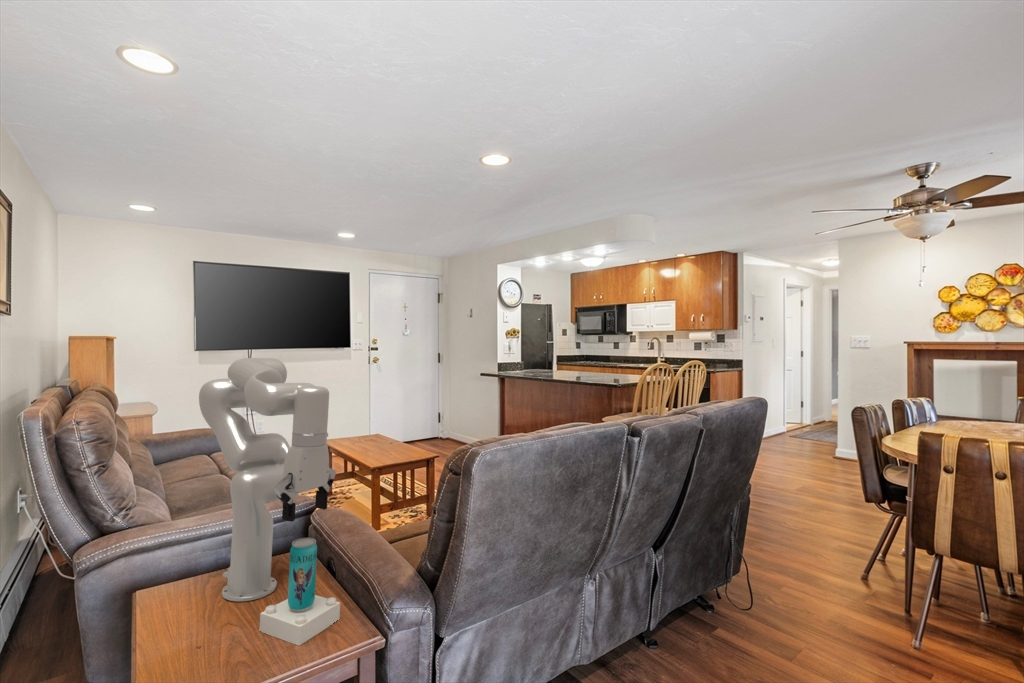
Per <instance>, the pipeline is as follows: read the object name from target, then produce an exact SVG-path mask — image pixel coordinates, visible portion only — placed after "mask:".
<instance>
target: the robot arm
mask: <svg viewBox="0 0 1024 683" xmlns="http://www.w3.org/2000/svg"><path fill="white" fill-rule="evenodd" d="M287 376H288V371H287V367H286V365H285V364H284V363H283V362H282V360H280V359H277V358H272V357H271V358H269V357H268V358H266V357H265V358H263V357H262V358H261V357H260V358H259V357H245V358H239V359H237V360H235V361H234V362H233V361H232V363H231V364H230V365H229V367H228V369H227V378H219V379H218V378H217V379H212V380H210V381H207V382H205V383H204V384H203V385H202V386H201V388H200V389H199V392H198V403H199V409H200V411H201V415H202V417H203V419H204V420H205V423H207V425H208V427H209V428H210V429H211V430H212V432H213V434H215V437H216V440H217V443H218V445H219V447H220V450H221V453H222V455H223V459H224V461H225V462H226V465H227V467H228V468H229V470H231V471H232V472H235V473H236V472H237V473H236V474H235V475H234V476H233V477H232V478H231V481H230V483H229V489H230V490H229V491H230V492H229V493H230V498H231V499H230V500H231V507H232V508H231V509H232V524H231V525H232V526H231V527H232V529H231V530H232V531H231V545H230V547H231V548H230V562H229V563H230V564H229V565H230V566H228V568H227V570H226V571H224V572H223V573H222V577H223V578H225V579H227V584H225V586H223V588H222V590H221V591H222V592H221V596H222V598H224V599H225V600H228V601H231V602H236V603H237V602H249V601H253V600H258V599H261V598H264V597H266V596H268V595H270V594H272V592H274V591H275V590H276V589H277V587H278V586H277V584H278V581H277V580H276V579H275V578H274V577H273V576H271V575H272V560H273V559H272V557H273V556H272V554H273V541H274V540H273V537H274V536H273V535H274V519H273V516H272V514H271V513H270V511H268V510H267V508H266V504H269V503H274V502H277V501H278V502H279V501H280V502H281V503H282V511H281V519H282V520H284V521H287V522H294V521H295V519H296V502H295V500H296V498H297V496H298V495H299V494H301V493H305V492H308V491H312V490H315V489H317V490H316V491H315V504H314V506H315V508H317V509H321V510H327V509H328V501H329V500H328V499H329V496H328V495H329V492H331V487H332V484H333V483H334V479H335V477H336V475H337V471H336V469H333V468H331V467H330V455H329V446H328V443H327V442H328V441H327V439H328V437H329V433H328V424H329V422H328V420H329V406H330V391H329V390H328V388H327V387H324V386H318V385H315V384H313V383H309V382H286V381H287ZM240 408H241V409H242V408H244V409H245V408H249V409H250V410H252V411H253V412H255V413H257V414H259V415H261V416H265V417H275V416H286V415H287V416H288V415H289V416H290V415H293V417H292V432H291V446H290V444H289V443H288V441H287V438H285V437H284V436H283V435H282V434H280V433H273V432H272V433H261V434H260V433H259V434H257V433H254V432H253V431H252V428H251V424H249V422H248V420H247V419H246V418H245V417H244V416H242V414H240V413H238V412H237V411H235V410H233V409H240Z"/></svg>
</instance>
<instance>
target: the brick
mask: <svg viewBox="0 0 1024 683" xmlns="http://www.w3.org/2000/svg"><path fill="white" fill-rule="evenodd" d="M340 612H341V601H337V599H336V597H334V596H331V597H323V596H320V595H316V594H315V599H314V602H313V604H312V607H311V608H310V609H309V610H307V611H304V612H293V611H291V610H290V607H289V605H288V598H286V599H285V600H282V601H280V602H278V603H277V604H270V605H269V604H268V605H266V607H265V610H264V611H261V612H260V614H259V629H258V630H259V631H258V632H260V631H261V632H260V633H264V634H265V633H266V635H268V636H270V637H274V638H276V639H278V640H282V641H285V642H288V643H290V644H293V645H295V644H296V646H298V647H300V646H301V645H303V644H305V643H306V642H307V641H309V640H311V639H312V638H313V637H315V636H317V635H318V634H319V633H321V632H323V631H325V630H326V629H327V628H329V627H331V626H332V625H333V623H334V622H335V623H337V622H338V621H340V617H341V613H340ZM337 620H338V621H337ZM336 621H337V622H336ZM335 623H334V624H335ZM330 625H331V626H330Z"/></svg>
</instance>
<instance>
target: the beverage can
mask: <svg viewBox="0 0 1024 683" xmlns="http://www.w3.org/2000/svg"><path fill="white" fill-rule="evenodd" d="M317 556H318V545H317V540H316V539H315V538H312V537H301V538H297V539H295V540H293V541H292V542H291V547H290V549H289V571H288V585H287V586H288V587H287V588H288V589H287V599H288V605H289V607H290V610H291V611H293V612H304V611H307V610H309V609H310V608H311V607H312V604H313V602H314V599H315V595H316V582H317V581H316V580H317V578H316V577H317V576H316V575H317V560H318V557H317Z"/></svg>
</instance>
